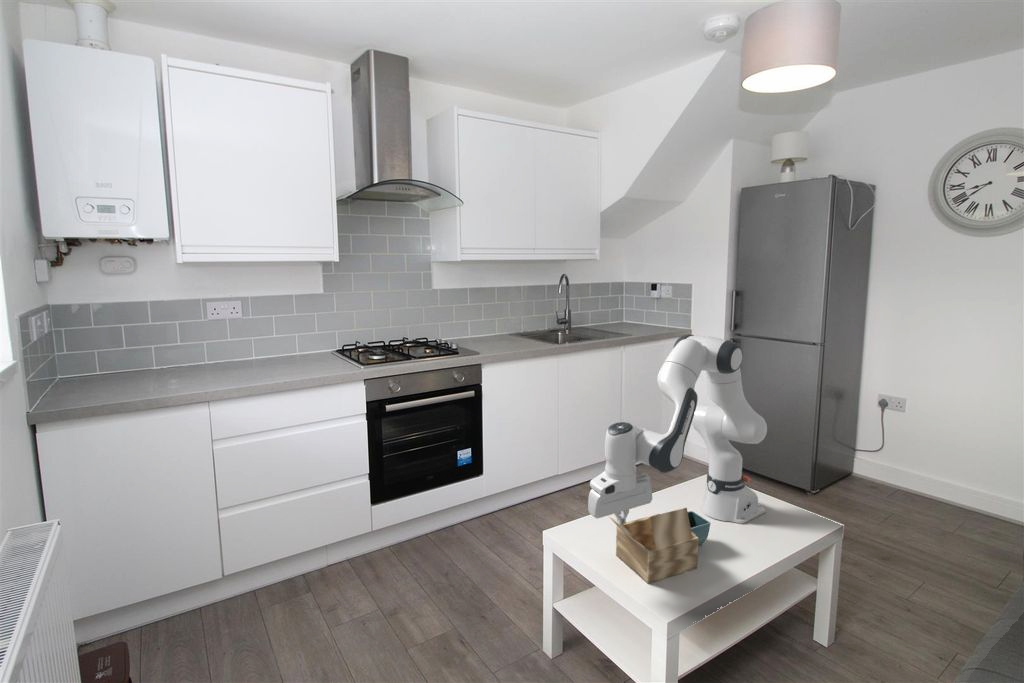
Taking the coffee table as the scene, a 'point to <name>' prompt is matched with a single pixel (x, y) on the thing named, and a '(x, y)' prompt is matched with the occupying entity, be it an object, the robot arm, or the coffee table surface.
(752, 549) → the coffee table surface
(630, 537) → the flap front
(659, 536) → the flap left
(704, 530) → the flower pot
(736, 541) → the coffee table surface
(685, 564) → the open wooden box
